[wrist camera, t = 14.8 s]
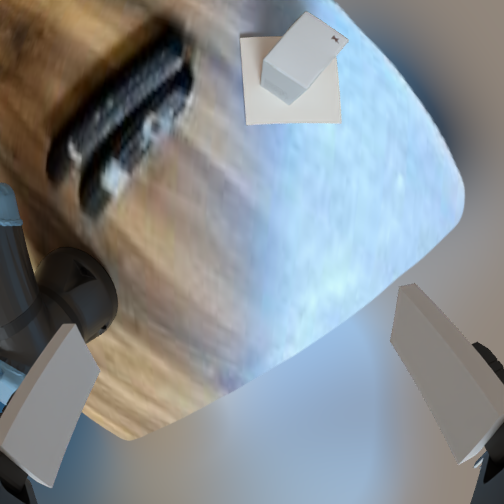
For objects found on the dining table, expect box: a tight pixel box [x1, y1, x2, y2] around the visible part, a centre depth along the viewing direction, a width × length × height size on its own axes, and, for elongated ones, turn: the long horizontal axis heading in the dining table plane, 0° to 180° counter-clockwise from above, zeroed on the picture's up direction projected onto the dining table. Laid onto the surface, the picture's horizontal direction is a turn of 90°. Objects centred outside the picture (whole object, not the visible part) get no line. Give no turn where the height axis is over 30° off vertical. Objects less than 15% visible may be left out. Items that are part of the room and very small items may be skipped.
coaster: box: [240, 36, 341, 125], centre depth 28 cm, size 11×11×1 cm
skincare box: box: [260, 11, 349, 105], centre depth 22 cm, size 6×4×12 cm
